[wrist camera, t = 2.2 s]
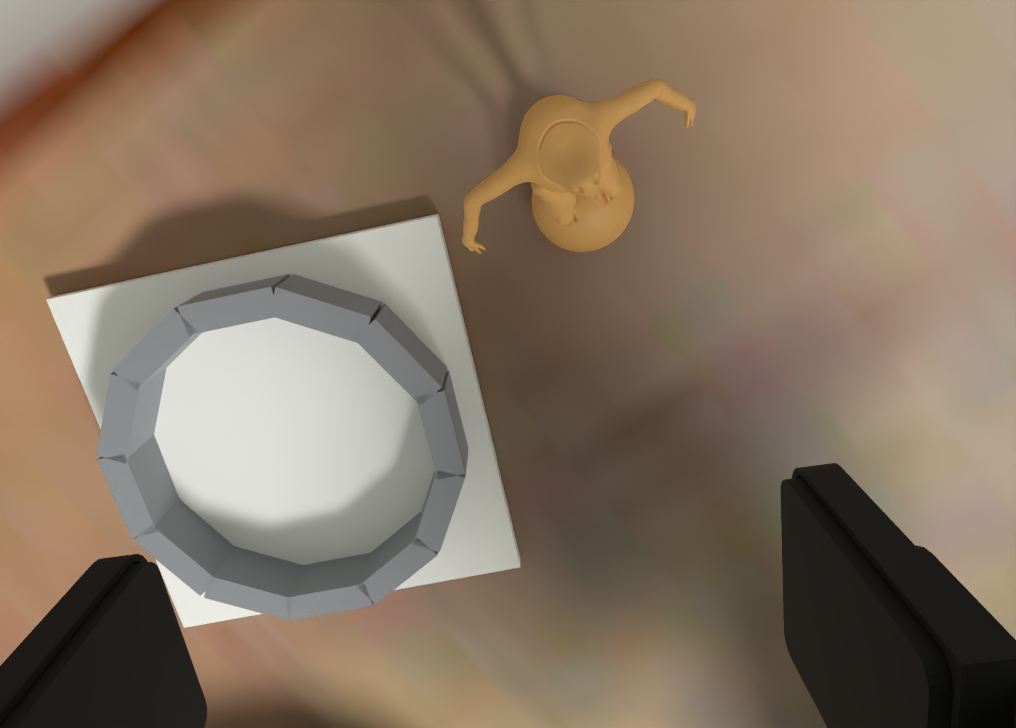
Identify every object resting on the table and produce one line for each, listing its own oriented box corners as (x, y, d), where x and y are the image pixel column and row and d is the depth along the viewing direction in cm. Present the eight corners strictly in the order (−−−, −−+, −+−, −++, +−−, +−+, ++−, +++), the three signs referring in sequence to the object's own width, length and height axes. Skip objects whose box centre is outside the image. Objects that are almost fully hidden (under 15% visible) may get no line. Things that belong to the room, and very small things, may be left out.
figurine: (516, 286, 32) (520, 380, 20) (441, 162, 30) (399, 188, 19) (689, 184, 30) (798, 224, 19) (620, 48, 29) (694, 2, 17)
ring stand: (438, 213, 31) (430, 224, 27) (520, 557, 36) (521, 599, 33) (57, 295, 32) (7, 314, 29) (190, 617, 37) (161, 663, 34)
